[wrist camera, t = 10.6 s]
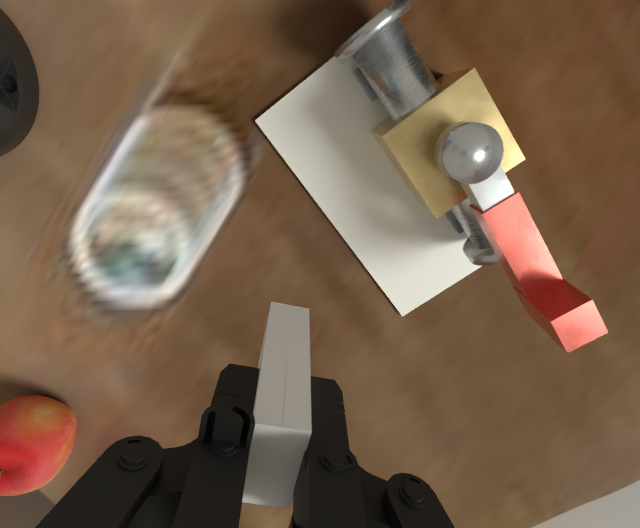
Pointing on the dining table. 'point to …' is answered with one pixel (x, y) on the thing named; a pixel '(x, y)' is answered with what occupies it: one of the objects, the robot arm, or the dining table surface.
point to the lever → (515, 235)
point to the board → (364, 186)
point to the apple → (33, 442)
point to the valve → (424, 118)
